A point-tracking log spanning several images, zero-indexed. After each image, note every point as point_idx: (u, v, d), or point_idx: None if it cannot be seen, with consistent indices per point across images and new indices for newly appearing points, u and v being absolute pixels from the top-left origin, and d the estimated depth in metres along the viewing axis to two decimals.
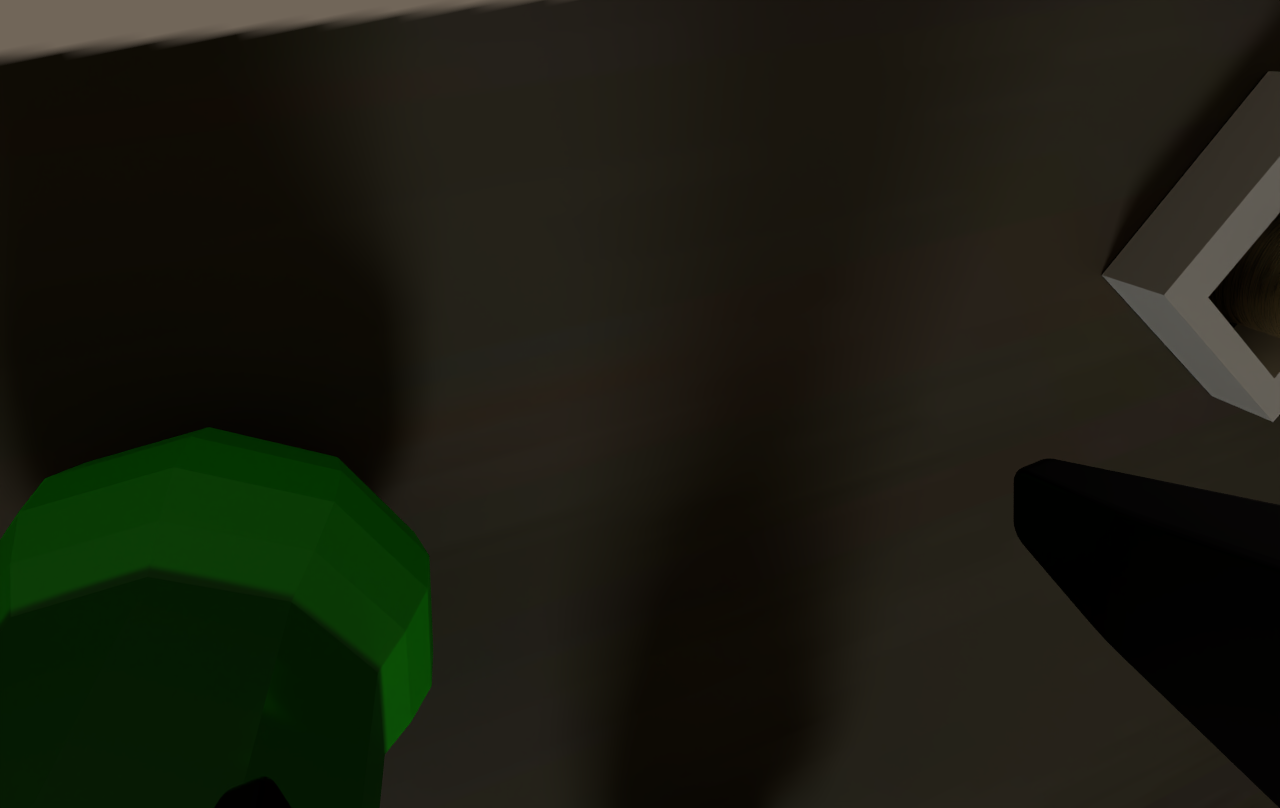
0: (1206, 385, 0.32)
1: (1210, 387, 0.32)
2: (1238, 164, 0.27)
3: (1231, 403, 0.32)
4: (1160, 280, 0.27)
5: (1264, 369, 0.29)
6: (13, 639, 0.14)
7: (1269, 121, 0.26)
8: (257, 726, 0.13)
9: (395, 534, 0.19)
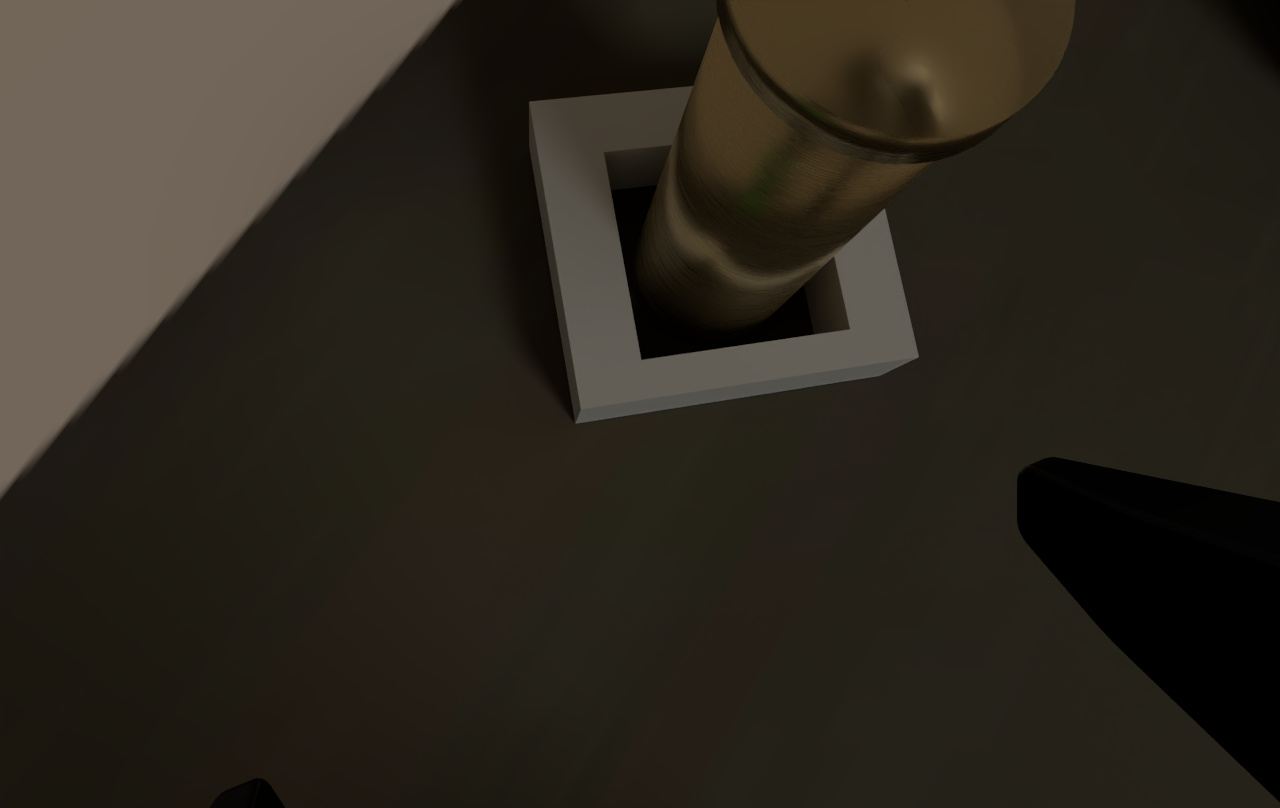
0: (847, 379, 0.24)
1: (851, 378, 0.24)
2: (549, 239, 0.22)
3: (887, 370, 0.23)
4: (576, 395, 0.21)
5: (823, 335, 0.22)
6: None
7: (539, 185, 0.22)
8: None
9: None
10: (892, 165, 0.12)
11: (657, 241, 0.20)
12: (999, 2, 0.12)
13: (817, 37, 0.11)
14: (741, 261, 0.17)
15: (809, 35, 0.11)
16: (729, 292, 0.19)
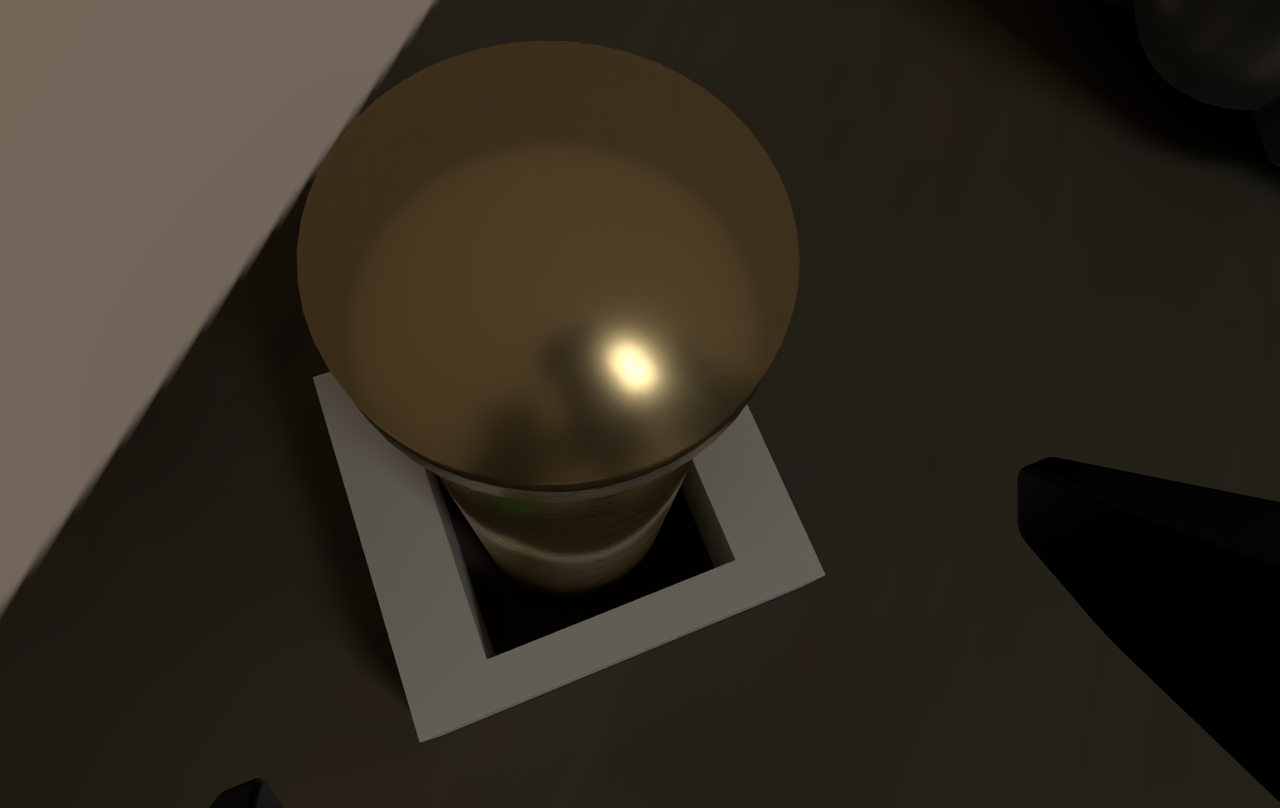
0: (758, 604, 0.20)
1: (762, 602, 0.20)
2: None
3: (801, 586, 0.19)
4: None
5: (704, 575, 0.18)
6: None
7: None
8: None
9: None
10: None
11: None
12: (692, 255, 0.08)
13: (436, 367, 0.08)
14: (540, 555, 0.13)
15: (424, 367, 0.08)
16: (558, 573, 0.15)
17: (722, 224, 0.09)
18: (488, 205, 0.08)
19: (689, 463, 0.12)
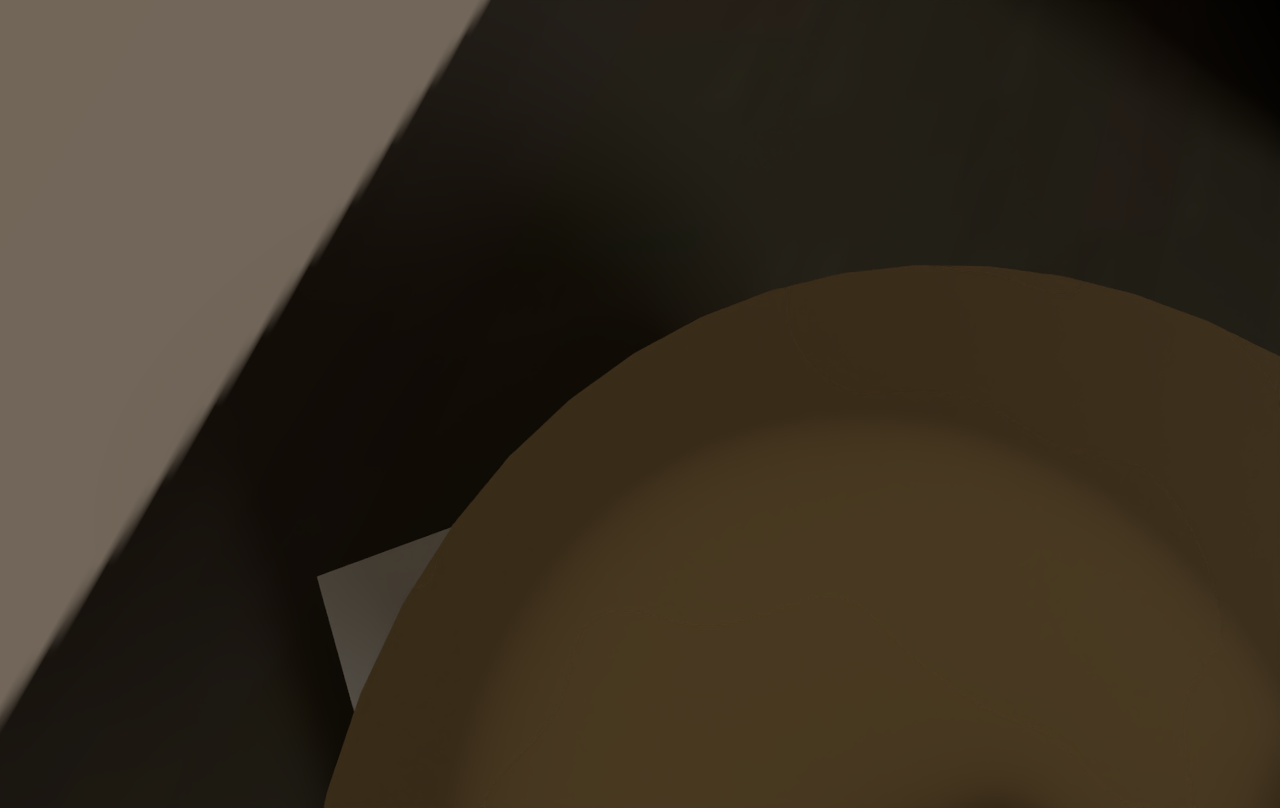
0: None
1: None
2: None
3: None
4: None
5: None
6: None
7: None
8: None
9: None
10: None
11: None
12: None
13: None
14: None
15: None
16: None
17: None
18: None
19: None
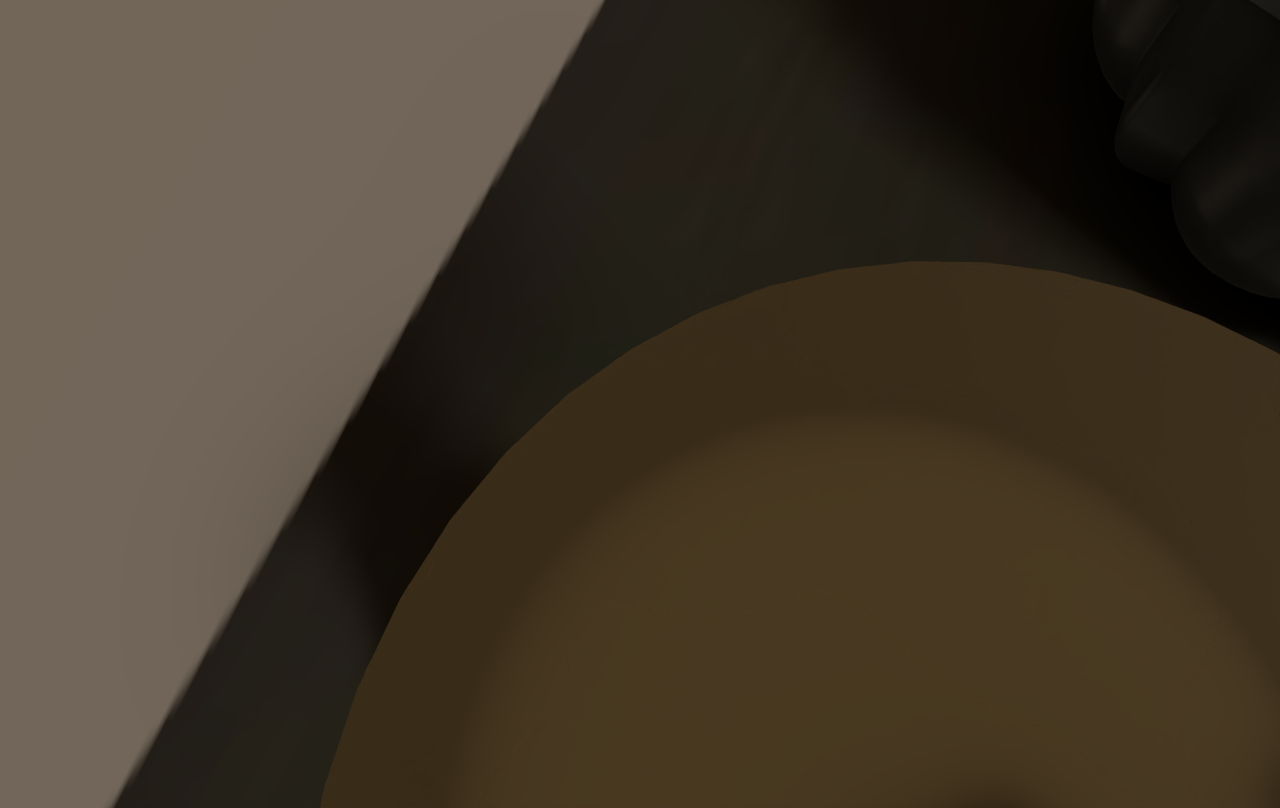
0: None
1: None
2: None
3: None
4: None
5: None
6: None
7: None
8: None
9: None
10: None
11: None
12: None
13: None
14: None
15: None
16: None
17: None
18: (851, 806, 0.03)
19: None
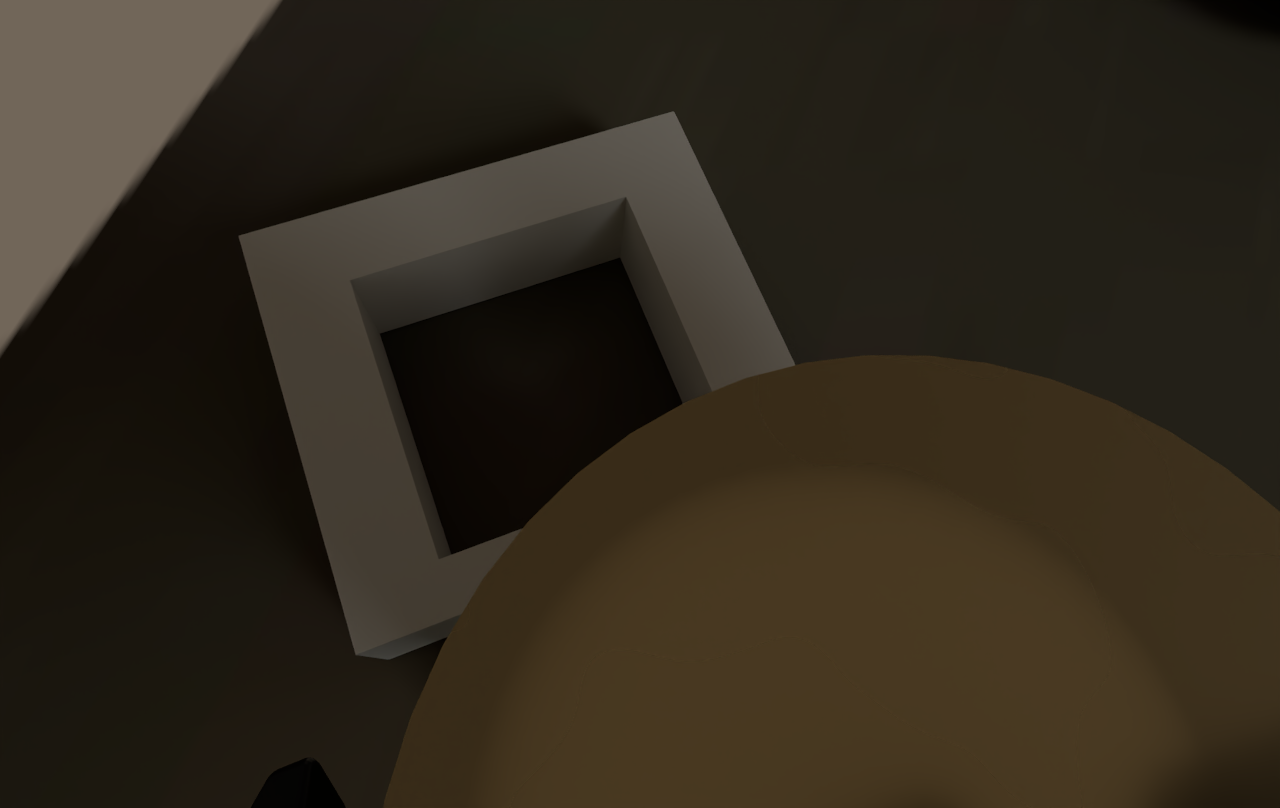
0: None
1: None
2: None
3: None
4: None
5: None
6: None
7: None
8: None
9: None
10: None
11: None
12: None
13: None
14: None
15: None
16: None
17: None
18: None
19: None
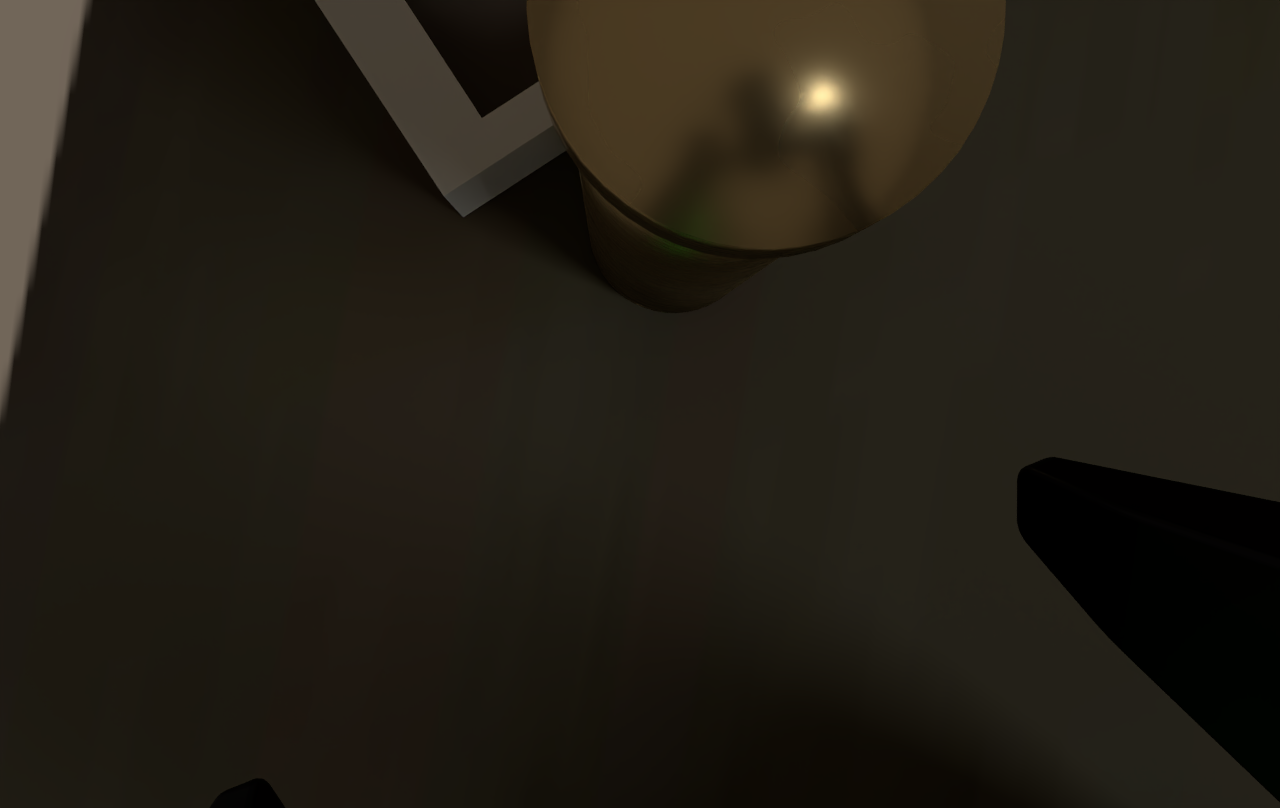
0: None
1: None
2: None
3: None
4: None
5: None
6: None
7: None
8: None
9: None
10: None
11: (610, 263, 0.17)
12: None
13: (697, 159, 0.09)
14: (708, 284, 0.15)
15: (686, 162, 0.09)
16: (707, 294, 0.17)
17: None
18: None
19: None
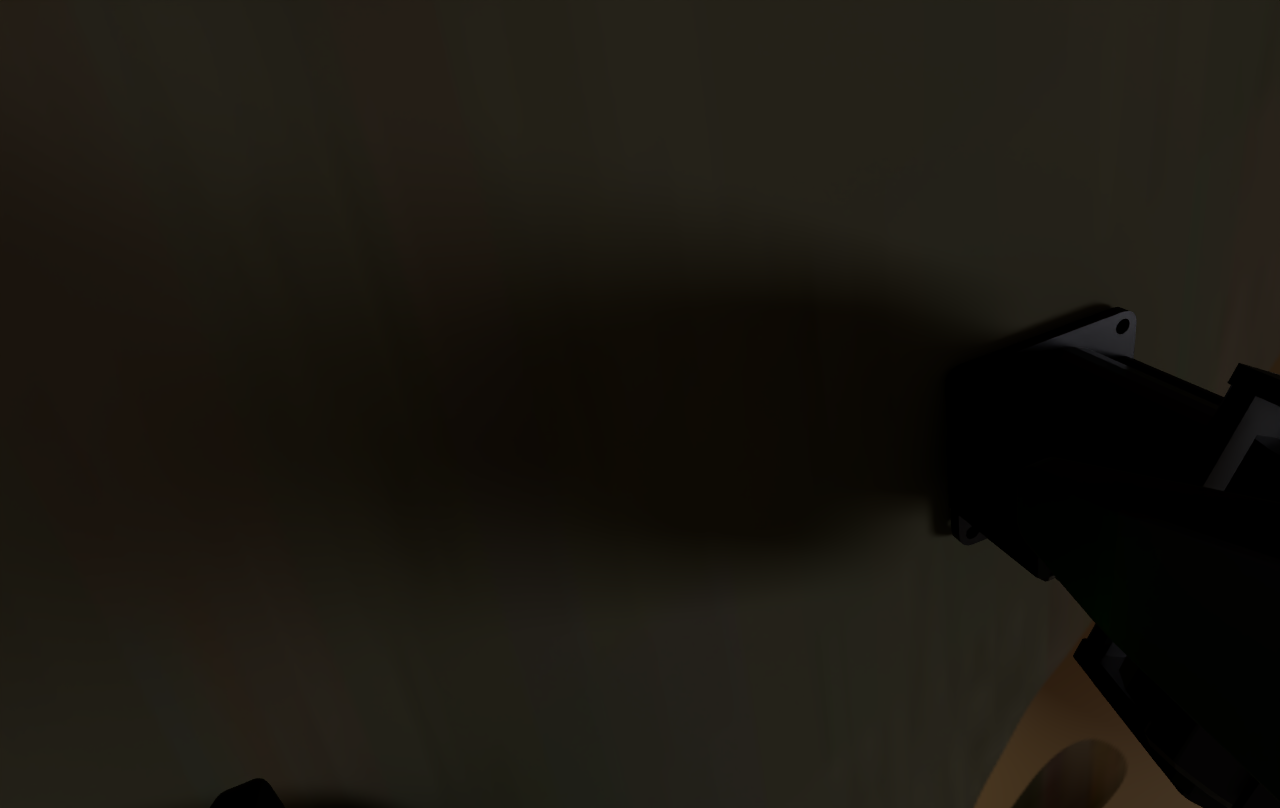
0: None
1: None
2: None
3: None
4: None
5: None
6: None
7: None
8: None
9: None
10: None
11: None
12: None
13: None
14: None
15: None
16: None
17: None
18: None
19: None
